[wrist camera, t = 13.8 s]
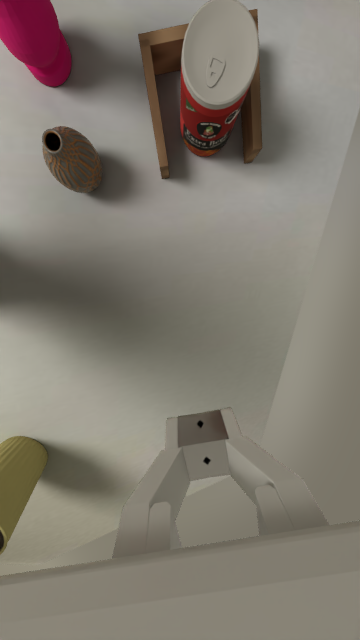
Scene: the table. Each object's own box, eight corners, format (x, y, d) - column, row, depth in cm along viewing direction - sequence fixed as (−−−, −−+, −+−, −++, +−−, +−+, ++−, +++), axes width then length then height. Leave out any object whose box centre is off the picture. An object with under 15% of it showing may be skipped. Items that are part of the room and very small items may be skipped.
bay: (162, 178, 31) (159, 167, 28) (143, 65, 27) (138, 34, 24) (251, 162, 31) (262, 148, 27) (246, 44, 27) (257, 8, 23)
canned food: (177, 156, 31) (177, 100, 20) (182, 90, 28) (185, -12, 18) (226, 161, 31) (251, 109, 20) (234, 97, 29) (268, 1, 18)
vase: (70, 138, 30) (28, 90, 21) (113, 160, 31) (89, 122, 22) (59, 186, 32) (16, 158, 23) (100, 205, 32) (73, 186, 24)
